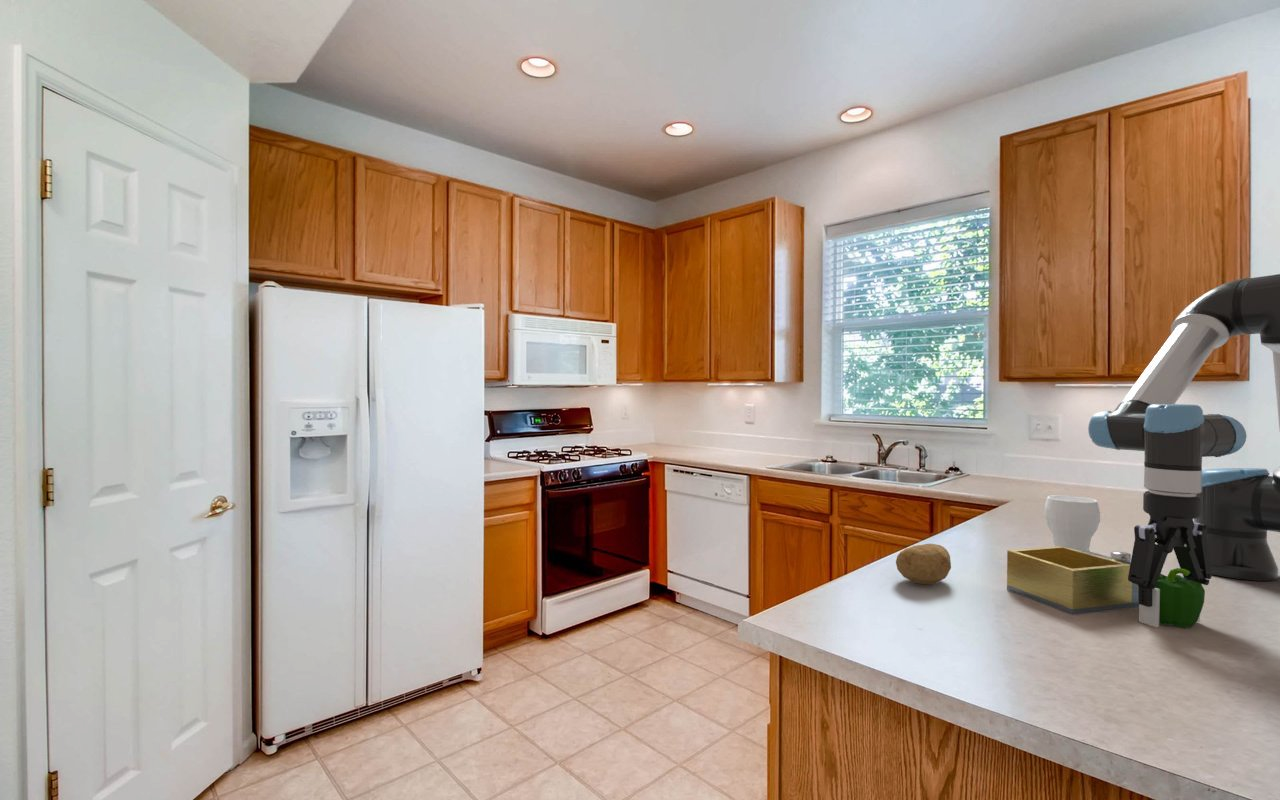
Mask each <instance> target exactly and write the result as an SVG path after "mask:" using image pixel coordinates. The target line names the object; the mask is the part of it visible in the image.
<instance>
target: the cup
mask: <svg viewBox="0 0 1280 800" xmlns="http://www.w3.org/2000/svg"><path fill="white" fill-rule="evenodd" d="M1044 518H1045V521H1046V524H1047V526H1048V528H1049V530H1050V531H1051V534H1052V538H1053V547H1056V546H1064V547H1068V548H1071V549H1075V550H1077V549H1082V550H1086V551H1089V552H1091V551H1090V547H1091V541H1092V538H1093V536H1094V534H1095V533H1096V532H1097V530H1098V528H1099V525H1100V523H1101V510H1100V506H1099V502H1098V500H1096V499H1094V498H1090V497H1083V496H1076V495H1075V496H1074V495H1063V494H1061V495H1059V494H1057V495H1053V494H1052V495H1048V496H1047V498H1046V500H1045V503H1044Z"/></svg>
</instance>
